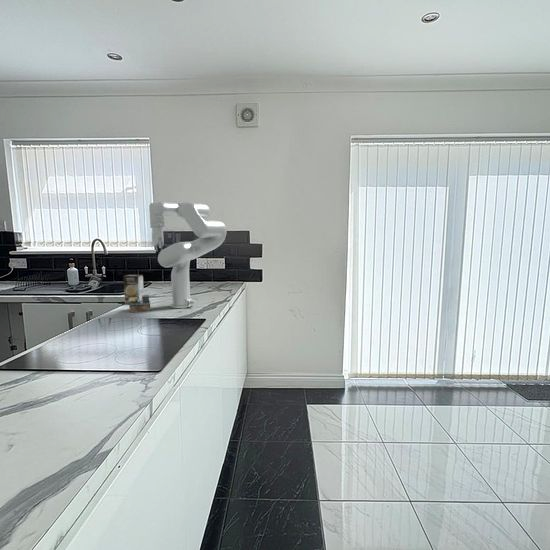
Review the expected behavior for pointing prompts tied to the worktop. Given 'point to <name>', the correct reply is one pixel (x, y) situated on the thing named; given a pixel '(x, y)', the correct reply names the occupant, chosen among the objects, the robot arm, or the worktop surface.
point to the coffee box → (133, 287)
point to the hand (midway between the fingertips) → (159, 258)
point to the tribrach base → (139, 308)
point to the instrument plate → (139, 301)
